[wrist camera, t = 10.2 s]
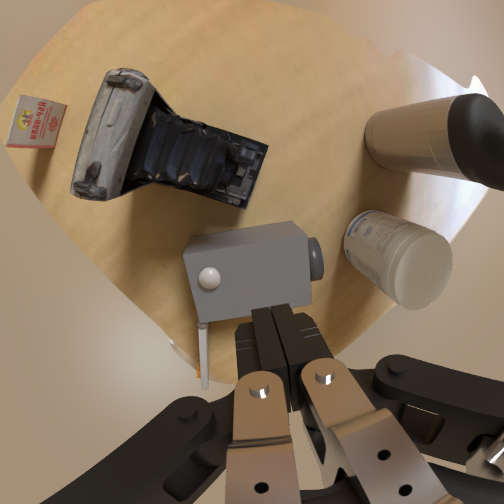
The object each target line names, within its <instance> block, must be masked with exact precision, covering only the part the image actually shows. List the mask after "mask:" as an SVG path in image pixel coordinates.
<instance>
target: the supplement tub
mask: <svg viewBox="0 0 504 504" xmlns="http://www.w3.org/2000/svg"><path fill="white" fill-rule="evenodd" d="M344 250H345V254H346V257H347V259H348V261H349V262H350V263H351V264H352V265H353V266H354V267H355V268H356V269H357V270H359V271H360V272H361V273H362V274H363V275H365V276H366V277H367V278H368V279H369V280H370V281H372V282H373V283H374V284H375V285H376V286H377V287H379V288H380V289H381V290H382V291H383V292H384V293H385V294H386V295H388V296H389V297H390V298H391V299H392V300H394V301H395V302H396V303H397V304H399V305H401V306H402V307H404V308H406V309H409V310H419V309H422V308H424V307H426V306H428V305H429V304H431V303H432V302H433V301H434V300H436V299H437V297H438V296H439V295H440V294H441V293H442V291H443V290H444V288H445V286H446V284H447V282H448V279H449V277H450V274H451V269H452V252H451V248H450V245H449V243H448V241H447V240H446V239H445V238H444V237H443V236H441V235H440V234H438V233H436V232H435V231H433V230H430V229H428V228H426V227H423V226H421V225H418V224H415V223H413V222H410V221H407V220H404V219H402V218H399V217H396V216H393V215H390V214H387V213H384V212H381V211H378V210H369V211H365V212H363V213H361V214H359V215H358V216H356V217H355V218H354V219H353V220H352V221H351V223H350V224H349V226H348V228H347V230H346V233H345V236H344Z"/></svg>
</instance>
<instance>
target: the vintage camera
mask: <svg viewBox="0 0 504 504" xmlns="http://www.w3.org/2000/svg"><path fill="white" fill-rule="evenodd" d="M268 147H269V146H268V145H266V144H263V143H260V142H258V141H255V140H252V139H249V138H246V137H243V136H240V135H237V134H234V133H231V132H228V131H225V130H222V129H219V128H216V127H212V126H209V125H206V124H205V123H203V122H199V121H194V120H190V119H187V118H184V117H181V116H179V115H177V114H176V113H175V112H174V110H173V109H172V108H171V107H170V106H169V105H168V103H167V102H166V101H165V100H164V98H163V97H162V96H161V95H160V93H159V92H158V91H157V89H156V88H155V87H154V86H153V85H152V84H151V83H150V82H149V79H148V78H147V77H146V76H145V75H144V74H143V73H141V72H139V71H137V70H133V69H128V68H119V69H116V70H110V71H108V72H107V73H106V75H105V77H104V80H103V82H102V84H101V87H100V89H99V92H98V94H97V97H96V100H95V102H94V105H93V108H92V111H91V113H90V116H89V119H88V122H87V125H86V129H85V132H84V135H83V138H82V142H81V145H80V149H79V152H78V156H77V160H76V164H75V169H74V173H73V178H72V183H71V189H70V193H71V194H72V195H74V196H76V197H78V198H80V199H86V200H93V201H108V200H111V199H114V198H117V197H120V196H123V195H125V194H127V193H129V192H131V191H134V190H136V189H138V188H140V187H143V186H146V185H150V184H153V183H156V184H160V185H165V186H170V187H174V188H177V189H180V190H187V191H190V192H193V193H196V194H199V195H202V196H205V197H209V198H212V199H215V200H218V201H221V202H224V203H227V204H230V205H233V206H236V207H239V208H242V209H246V207H247V204H248V202H249V199H250V196H251V194H252V191H253V188H254V185H255V182H256V180H257V177H258V174H259V171H260V169H261V166H262V163H263V160H264V158H265V155H266V152H267V150H268Z"/></svg>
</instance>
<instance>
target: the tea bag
mask: <svg viewBox="0 0 504 504" xmlns="http://www.w3.org/2000/svg"><path fill="white" fill-rule="evenodd" d="M66 108H67V105H64V104H61V103H57V102H54V101H50V100H46V99H41V98H36V97H31V96H25V95H19V98H18V101H17V104H16V108H15V111H14V114H13V118H12V122H11V125H10V129H9V133H8V138H7V142H6V147H18V148H55V145H56V142H57V138H58V134H59V130H60V127H61V124H62V120H63V117H64V114H65V111H66Z"/></svg>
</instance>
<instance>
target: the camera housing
mask: <svg viewBox="0 0 504 504" xmlns="http://www.w3.org/2000/svg"><path fill="white" fill-rule="evenodd" d="M183 258H184V263H185V267H186V271H187V275H188V279H189V283H190V287H191V291H192V295H193V299H194V303H195V306H196V310H197V314H198V318H199V321H200V323H205V322H212V321H219V320H226V319H232V318H239V317H245V316H251V315H252V314H251V310H252V309H258V308H263V307H269V308H270V306H274V305H280V304H285V303H289V305H290V307H291V308H295V307H300V306H305V305H310V304H312V300H311V281H316V280H321V279H322V278H323V274H324V260H323V254H322V251H321V248H320V245H319V243H318V241H317V239H316V238H315V237H312V238H307V234H306V233H305V232H304V231H303V230H302V229H300V228H299V227H298V226H297V225H296V224H295V223H294V222H293V221H287V222H280V223H274V224H267V225H261V226H255V227H248V228H242V229H236V230H230V231H224V232H218V233H212V234H206V235H200V236H195V237H191V238H190V240H189V242H188V244H187V246H186V249H185V251H184V253H183Z"/></svg>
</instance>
